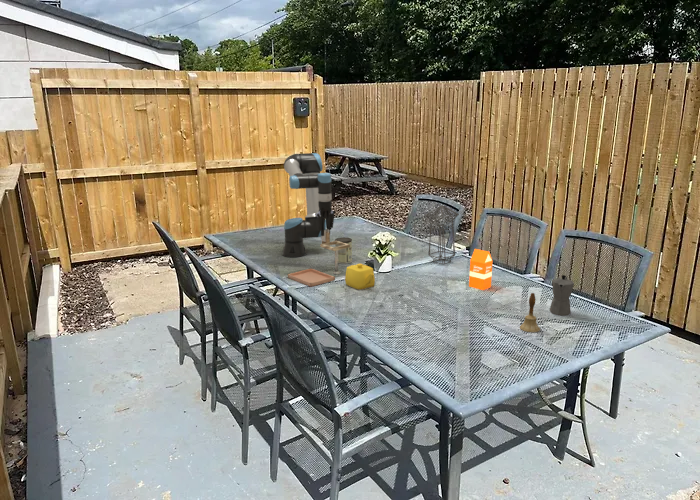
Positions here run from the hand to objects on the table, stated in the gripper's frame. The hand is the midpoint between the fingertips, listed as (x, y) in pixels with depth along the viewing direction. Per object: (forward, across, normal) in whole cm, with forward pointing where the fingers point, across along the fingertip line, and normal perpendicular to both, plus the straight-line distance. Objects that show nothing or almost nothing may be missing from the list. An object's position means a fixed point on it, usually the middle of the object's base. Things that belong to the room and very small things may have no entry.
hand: (325, 240), depth 308 cm
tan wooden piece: (+2, 0, -6) cm, 6 cm away
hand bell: (+17, +11, -126) cm, 127 cm away
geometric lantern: (+18, +62, -35) cm, 73 cm away
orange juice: (+17, +41, -79) cm, 90 cm away
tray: (+17, -17, -8) cm, 26 cm away
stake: (+17, 0, -10) cm, 20 cm away
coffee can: (+18, +19, +6) cm, 27 cm away
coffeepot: (+17, +39, -125) cm, 132 cm away
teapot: (+18, -4, -35) cm, 39 cm away
